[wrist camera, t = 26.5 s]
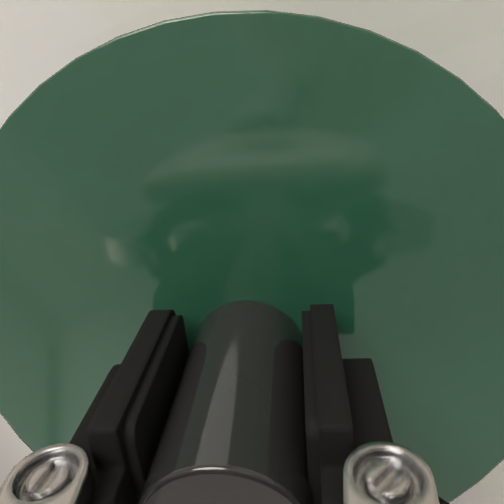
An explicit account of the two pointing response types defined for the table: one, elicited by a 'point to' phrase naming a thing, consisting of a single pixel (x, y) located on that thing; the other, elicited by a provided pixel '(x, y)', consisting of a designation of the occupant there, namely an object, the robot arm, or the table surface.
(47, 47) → the table surface
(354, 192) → the pot lid
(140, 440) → the robot arm
